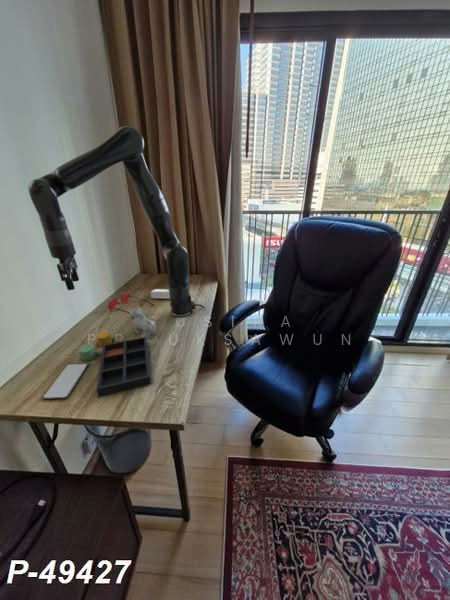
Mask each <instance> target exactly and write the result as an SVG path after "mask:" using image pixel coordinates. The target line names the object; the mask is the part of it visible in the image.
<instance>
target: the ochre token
mask: <svg viewBox="0 0 450 600" xmlns="http://www.w3.org/2000/svg"><path fill="white" fill-rule="evenodd" d="M95 338H96V342H97V344H98V345H97V346H99V347H102V348H103V345H106V344H111V343H113V340H112V336H111V332H110V331H108V330H101V331H99V332H98V333H96V335H95Z"/></svg>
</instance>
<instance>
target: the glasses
mask: <svg viewBox="0 0 450 600" xmlns="http://www.w3.org/2000/svg"><path fill="white" fill-rule="evenodd" d="M118 298H119V299H118ZM130 298H134V299H138V300H142V301H146V302H148V303H149V304H150V305H151V306H154V304H153V303H152V302H150V301H149V300H148V299H145V298H141V297H137V296H133V295H130V294H129V293H128V292H127V293H123V294H120V295H119V296H118V297H116V298H114V299H112V300H110V301H109V302H108V305H107V308H108V309H109V310H110V311H112V310H113V309H114V310H116V311H121V312H124V313H127V314H129V315H130V311H127V310H123V309H121V308H116V306H117V305H119V304H120V302H125V303H127V302H128V300H129V299H130ZM118 300H120V301H118ZM132 319H134V317H132Z"/></svg>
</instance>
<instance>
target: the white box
mask: <svg viewBox="0 0 450 600" xmlns="http://www.w3.org/2000/svg"><path fill="white" fill-rule="evenodd" d="M150 298H151V299H168V300H170V294H169V288H168V289H167V288H166V289H165V288H161V289H160V288H155V289H153V290H151V291H150Z"/></svg>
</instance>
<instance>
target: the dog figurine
mask: <svg viewBox="0 0 450 600" xmlns="http://www.w3.org/2000/svg"><path fill="white" fill-rule="evenodd" d="M129 313H130V314H129V316H130V317H131V318H133V317H134V318H133V321H132V322H133V326H134V328H135V333H136V335H139V334H140V330H142V331H143V332H144V337H146V340H149V335H150V332H151V333H152V336H156V335H157V333H156V323H155V321H153V320H151V319H149V318H148V317H147V316H145V315H144V312H143V310H142V307H140V306H138V307H136V309H135V308H132V309H131V310H130V311H129Z"/></svg>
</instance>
